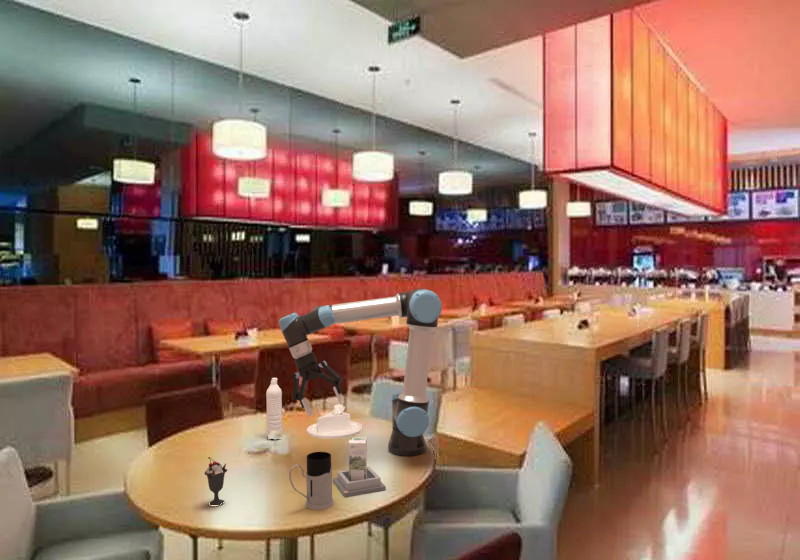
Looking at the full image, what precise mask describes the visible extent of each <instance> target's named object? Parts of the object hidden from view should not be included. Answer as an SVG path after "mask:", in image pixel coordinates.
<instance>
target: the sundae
mask: <svg viewBox="0 0 800 560" xmlns="http://www.w3.org/2000/svg"><path fill="white" fill-rule="evenodd" d="M207 459H209V460H210V462H209V463H208V467H207V468H206V470H205V471H204V476H206V477H207V483H208V488H209V490H210V491H211V492H212V493H213V495H214V496H213V500H211V502H210V501H209V502H210V505H220V504H221V503H223V502H224V501H225V500H223V499H220V498H219V493H220V491H222V489H223V488H224V482H225V481H224V480H225V474H226V473H227V471H228V469H227V468H226V466H227V463H224V465H223V464H222V463H220V462H218V461H215V460H212V458H211V456H208V457H207ZM212 461H213V462H212ZM220 506H221V505H220Z"/></svg>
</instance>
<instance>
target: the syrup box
mask: <svg viewBox="0 0 800 560" xmlns="http://www.w3.org/2000/svg"><path fill="white" fill-rule="evenodd" d="M367 441H368V440H367V437H349V440H348V470H349V481H350V482H351V481H357V480H363V479H367V467H368V463H367V459H368V458H367V456H368V453H367V452H368V449H367V447H368V442H367Z"/></svg>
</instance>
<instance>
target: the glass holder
mask: <svg viewBox="0 0 800 560" xmlns="http://www.w3.org/2000/svg"><path fill="white" fill-rule="evenodd" d="M297 467H299V468H300V469H301V475H302V477H303V478H305V479H306V480H305V481H306V482H305V483H306V495H305V494H304V493H303V492H300V491H299V490H298V489H297V488H296V487H295V486H294V484H293V481H292V472H293V469H294V468H297ZM305 473H306V475H304V468H303V466H302V465H301V464H295V465H292V467H291V468H290V469H289V482H290V485H291V487H292V489H293V490H294V491H295V492H297V493H298V494H300V495H301V496H303V497H304V498H306V501H305V503H304V504H305V505H304V506H305V507H306V508H307V509H309V510H310V509H311V510H314V511H315V510H317V511H320V510H325V509H326V510H327V509H328V508H331V507H332V506H333V505H334V503H335V502H334V499H333V465H332V454H331V453H330V452H327V451H315V452H311V453H309V454H307V455H306V472H305Z"/></svg>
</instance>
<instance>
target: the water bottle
mask: <svg viewBox="0 0 800 560" xmlns="http://www.w3.org/2000/svg"><path fill="white" fill-rule="evenodd" d="M265 393H266V394H265V396H266V437H267V436H268V435H269V434H270V432H271V431H280V432H282V433H283V405H282V403H283V402H282V401H283V400H282V399H283V398H282V397H283V392H282V388H280V386H279V385H278V378H277V377H271V380H270V385H269V387H268V388H267V390H266V392H265Z"/></svg>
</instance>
